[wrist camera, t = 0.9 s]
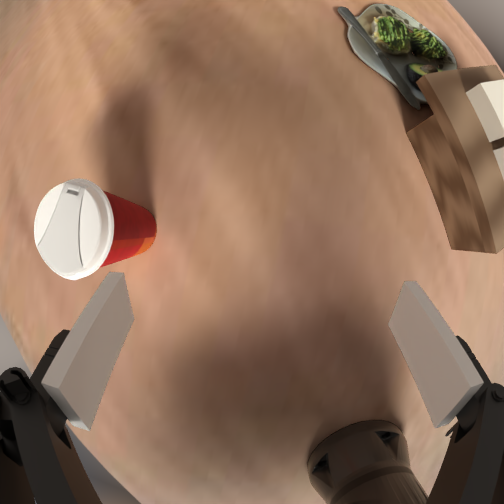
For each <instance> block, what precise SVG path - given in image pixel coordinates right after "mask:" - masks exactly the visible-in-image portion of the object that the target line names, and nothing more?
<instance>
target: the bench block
mask: <svg viewBox="0 0 504 504" xmlns="http://www.w3.org/2000/svg"><path fill="white" fill-rule="evenodd" d="M503 79H504V78H503V76H502V74H501V72H500V71H499V69H498V67H497V66H496V65H490V66H480V67H470V68H462V69H455V70H448V71H441V72H435V73H430V74H424V75H423V76H422V77H421V78H420V79H419V80H418V81H417V82H416V83H417V85H418V87H419V88H420V90H421V92H422V93H423V95H424V97H425V99H426V100H427V102H428V104H429V106H430V108H431V110H432V111H433V113H434V115H432V116H430V117H429V118H427V119H426V120H424V121H423V122H421V123H420V124H419V125H417V126H416V127H414V128H413V129H411V130H410V131H408V132H407V133H406V134H407V136H408V138H409V140H410V142H411V144H412V146H413V148H414V150H415V152H416V155H417V157H418V159H419V161H420V164H421V166H422V168H423V170H424V173H425V175H426V178H427V180H428V182H429V185H430V187H431V190H432V193H433V195H434V198H435V201H436V203H437V206H438V209H439V212H440V214H441V217H442V220H443V223H444V226H445V230H446V233H447V236H448V239H449V243H450V246H451V249H452V250H463V251H474V252H484V253H495V254H497V253H498V252H499V251H501V250H502V249H503V248H504V179H503V176H502V173H501V171H500V168H499V165H498V162H497V160H496V157H495V154H494V152H493V151H494V150H496V149H498V148H500V147H502V146H504V137H502V138H500V139H497V140H494V141H492V142H489V140H488V137H487V135H486V133H485V131H484V128H483V126H482V124H481V122H480V120H479V118H478V116H477V114H476V112H475V110H474V108H473V106H472V104H471V102H470V100H469V98H468V96H467V95H466V92H468V91H469V90H471V89H472V88H474V87H475V86H477V85H478V84H480V83H484V82H490V81H496V80H503Z"/></svg>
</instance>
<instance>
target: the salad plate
mask: <svg viewBox="0 0 504 504" xmlns="http://www.w3.org/2000/svg"><path fill="white" fill-rule="evenodd" d="M338 13H339V14H340V15H341V16H342V17H343V19H344V20H345V21H346V22H347V24H348V32H347V37H348V39H349V42H350V45H351V47H352V49H353V52H354V53H355V54H356V55H357V56H358V57H359V58H360V59H361V60H362V61H363V62H364V63H365V64H367V65H368V66H369V67H370V68H372V69H373V70H374V71H376V72H377V73H379V74H380V75H381V76H383V77H384V78H385V79H387V80H388V81H389V82H391V83H392V84H393V85H394V86H395V87H396V88H397V89H398V90H399V91H400V92H401V94H402V95H403V96H404V98H405V99H406V100H407V101H408V102H409V104H410V105H411V106H412V107H415V108H416V109H418V110H420V107H421V106H420V104H428V102H427V100H426V99H425V97H424V95H423V93H422V92H421V90H420V88H419V87H418V85H417V83H416V82H417V81H418V80H419V79H420V78H421V77H422V76H423V75H424V74H430V73H435V72H441V71H448V70H455V69H457V63H456V59H455V57H454V55H453V53H452V52H451V50H450V48H449V47H448V46H447V45H446V43H445V42H444V41H442V40H441V39H440V38H439V37H438V36H436V35H435V34H434V33H433V32H431V31H430V30H429V29H427V28H426V27H424V26H423V25H422V24H420V23H419V22H417V21H416V20H415V19H414V18H413V17H411V16H409V15H408V14H406V13H405V12H403V11H402V10H400V9H398V8H396V7H394V6H391V5H386V4H373V5H371V6H369V7H368V8H367V9H366V10H365V11H363V13H362V14H361V15H360V16H358V17H355V16H354V15H353V14H352V13H351V12H350V11H349V9H347V8H346V7H339V8H338ZM408 28H409V29H410V30H412V31H413V33H410V32H409V30H408ZM412 52H413V53H414V54H415V55H413V54H412ZM387 58H388V59H389V60H388V59H387ZM438 66H439V67H438Z"/></svg>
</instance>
